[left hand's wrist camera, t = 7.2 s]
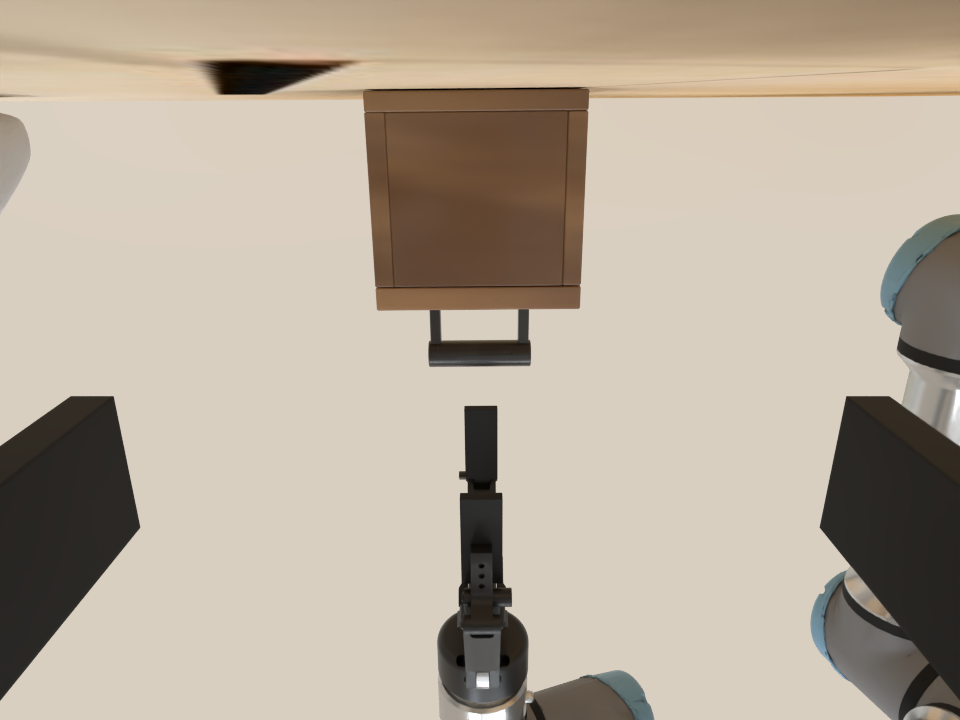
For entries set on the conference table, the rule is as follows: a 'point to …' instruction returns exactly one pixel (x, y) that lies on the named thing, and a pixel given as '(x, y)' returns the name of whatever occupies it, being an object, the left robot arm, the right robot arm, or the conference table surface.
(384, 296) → the lid
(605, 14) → the conference table surface
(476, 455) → the right robot arm
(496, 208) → the chest
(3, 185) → the projector
